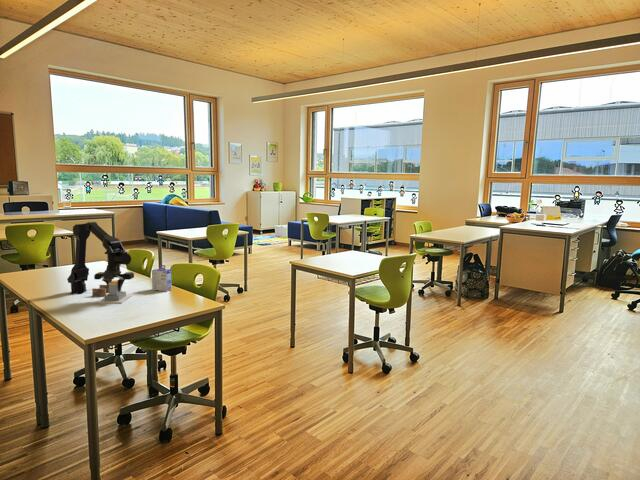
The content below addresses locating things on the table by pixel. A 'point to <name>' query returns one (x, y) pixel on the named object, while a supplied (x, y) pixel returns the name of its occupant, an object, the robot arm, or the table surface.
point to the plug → (114, 288)
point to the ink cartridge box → (161, 279)
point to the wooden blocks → (100, 290)
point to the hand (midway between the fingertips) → (115, 291)
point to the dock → (115, 299)
